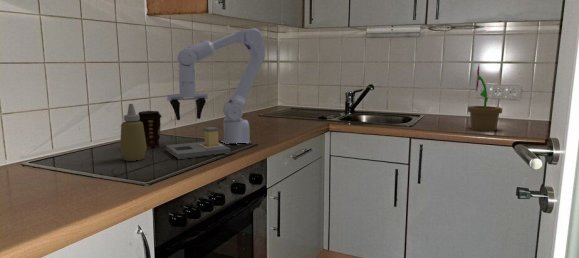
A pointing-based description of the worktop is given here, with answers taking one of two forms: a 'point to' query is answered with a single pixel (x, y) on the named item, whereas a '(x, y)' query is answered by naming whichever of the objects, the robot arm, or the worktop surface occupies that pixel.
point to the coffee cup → (151, 127)
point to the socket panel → (195, 149)
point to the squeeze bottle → (132, 136)
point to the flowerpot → (483, 112)
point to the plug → (211, 136)
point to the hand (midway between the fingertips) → (188, 119)
